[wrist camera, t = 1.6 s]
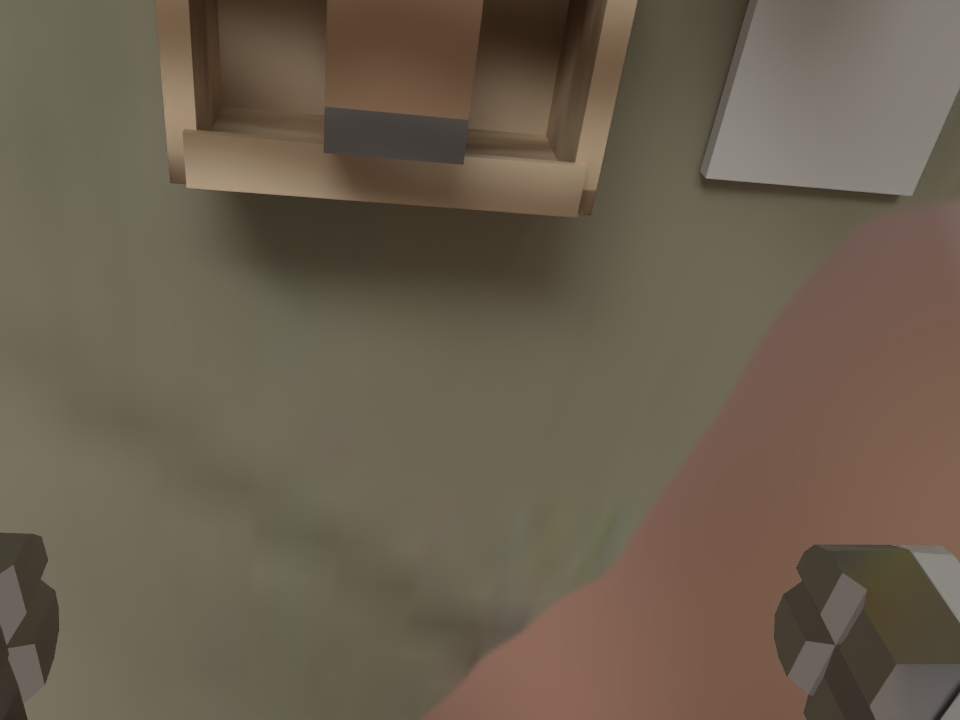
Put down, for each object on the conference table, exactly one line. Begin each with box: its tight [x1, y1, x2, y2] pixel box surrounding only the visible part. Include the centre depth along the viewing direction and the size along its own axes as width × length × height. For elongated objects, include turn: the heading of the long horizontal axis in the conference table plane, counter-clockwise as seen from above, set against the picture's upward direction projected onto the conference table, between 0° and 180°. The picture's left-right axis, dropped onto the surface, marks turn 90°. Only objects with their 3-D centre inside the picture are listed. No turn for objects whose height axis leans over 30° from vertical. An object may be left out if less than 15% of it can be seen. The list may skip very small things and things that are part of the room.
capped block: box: [324, 0, 484, 165], centre depth 29 cm, size 6×4×8 cm
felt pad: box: [700, 0, 960, 196], centre depth 35 cm, size 12×10×1 cm
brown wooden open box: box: [155, 0, 638, 218], centre depth 30 cm, size 12×15×6 cm
